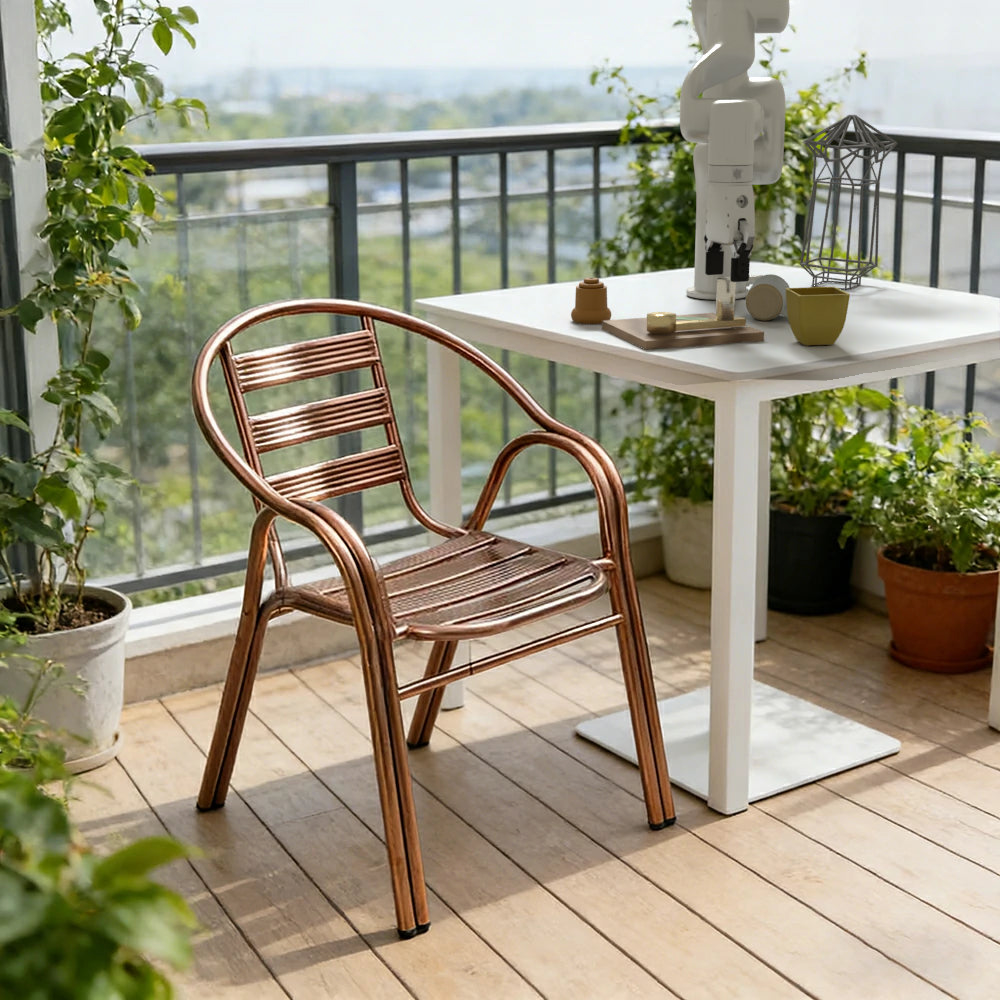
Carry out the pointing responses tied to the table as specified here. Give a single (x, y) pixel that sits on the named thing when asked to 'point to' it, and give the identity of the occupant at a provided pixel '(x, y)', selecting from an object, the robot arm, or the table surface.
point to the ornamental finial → (591, 302)
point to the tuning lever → (724, 318)
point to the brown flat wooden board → (680, 333)
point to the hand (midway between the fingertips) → (726, 277)
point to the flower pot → (817, 314)
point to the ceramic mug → (767, 298)
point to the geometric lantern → (836, 132)
